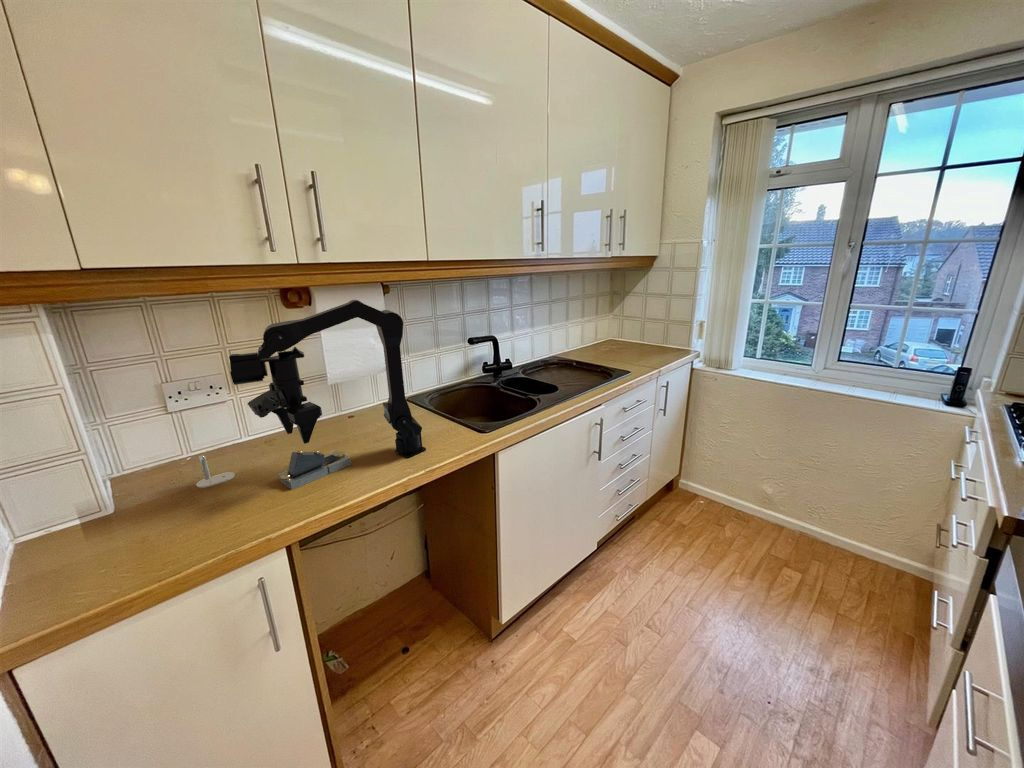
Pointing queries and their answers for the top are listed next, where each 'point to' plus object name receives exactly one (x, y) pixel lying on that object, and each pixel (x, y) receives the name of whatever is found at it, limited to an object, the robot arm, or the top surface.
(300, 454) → the block with brass studs
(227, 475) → the stand
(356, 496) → the top surface
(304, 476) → the end link
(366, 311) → the robot arm
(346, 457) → the end link
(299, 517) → the top surface
